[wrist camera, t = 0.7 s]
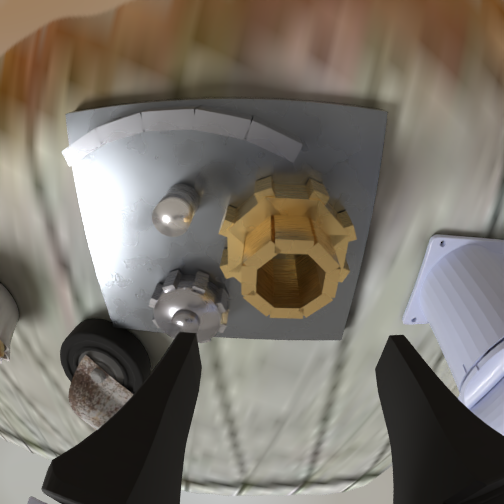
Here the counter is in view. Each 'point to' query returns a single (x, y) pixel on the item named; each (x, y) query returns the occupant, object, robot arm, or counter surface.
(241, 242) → the planet gear
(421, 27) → the counter surface
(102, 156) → the carrier
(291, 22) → the counter surface
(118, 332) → the caster wheel
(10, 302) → the cupcake
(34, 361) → the counter surface
